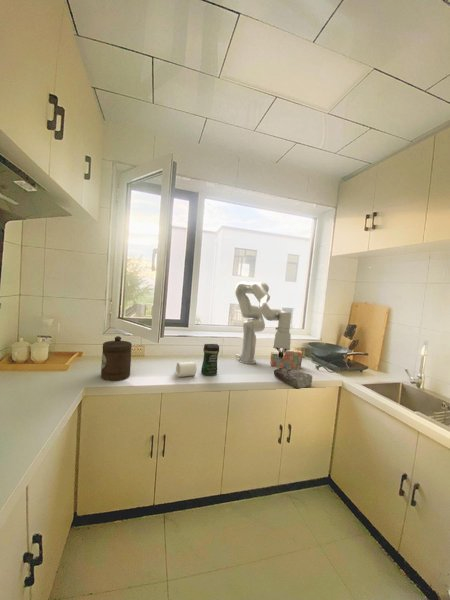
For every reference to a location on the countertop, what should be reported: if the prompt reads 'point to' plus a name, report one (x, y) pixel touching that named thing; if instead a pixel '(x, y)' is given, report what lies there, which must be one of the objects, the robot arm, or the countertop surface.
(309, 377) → the stone block
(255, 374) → the countertop surface
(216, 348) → the coffee jar
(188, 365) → the mug
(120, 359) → the wooden container
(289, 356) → the stack of blocks
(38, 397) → the countertop surface
